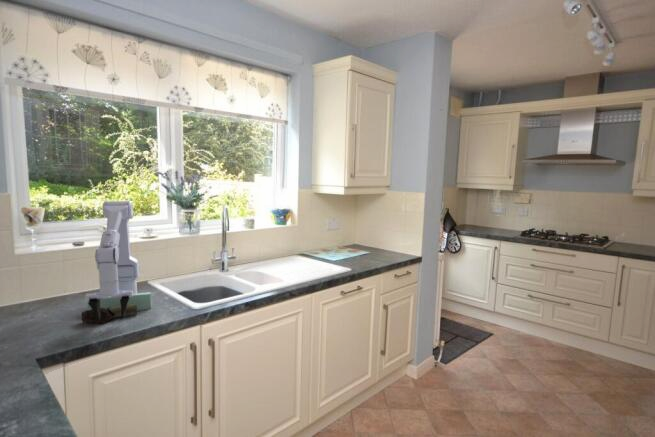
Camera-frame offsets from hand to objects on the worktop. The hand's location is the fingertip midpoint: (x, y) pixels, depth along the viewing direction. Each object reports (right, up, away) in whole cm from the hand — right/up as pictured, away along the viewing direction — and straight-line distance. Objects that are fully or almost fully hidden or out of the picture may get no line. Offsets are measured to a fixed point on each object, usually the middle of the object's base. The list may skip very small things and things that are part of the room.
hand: (111, 317), depth 134 cm
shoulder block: (-5, -1, +15) cm, 16 cm away
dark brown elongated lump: (-4, -3, +6) cm, 8 cm away
